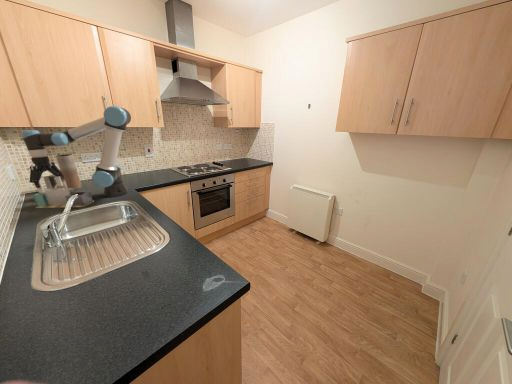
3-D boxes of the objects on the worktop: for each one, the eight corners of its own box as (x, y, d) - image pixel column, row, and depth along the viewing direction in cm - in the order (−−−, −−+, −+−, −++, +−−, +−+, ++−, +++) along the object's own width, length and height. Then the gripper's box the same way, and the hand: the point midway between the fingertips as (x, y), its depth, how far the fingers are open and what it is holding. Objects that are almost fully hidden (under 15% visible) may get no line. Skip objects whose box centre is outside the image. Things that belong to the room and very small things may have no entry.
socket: (56, 201, 138) (52, 190, 135) (45, 206, 130) (40, 194, 127) (48, 201, 137) (44, 190, 135) (36, 206, 129) (32, 195, 127)
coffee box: (56, 198, 144) (49, 177, 139) (49, 198, 146) (42, 176, 140) (70, 194, 153) (63, 174, 148) (63, 194, 154) (56, 173, 149)
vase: (80, 185, 174) (71, 153, 165) (83, 188, 168) (73, 155, 159) (65, 188, 167) (54, 155, 158) (67, 190, 161) (56, 156, 152)
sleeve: (92, 201, 139) (90, 191, 137) (84, 205, 131) (81, 195, 129) (77, 201, 138) (74, 191, 136) (68, 205, 131) (65, 195, 128)
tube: (79, 201, 137) (74, 187, 134) (73, 204, 132) (68, 190, 129) (51, 202, 136) (46, 188, 133) (45, 205, 131) (39, 190, 128)
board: (94, 201, 140) (94, 200, 140) (84, 206, 131) (84, 206, 130) (49, 202, 138) (49, 201, 138) (35, 208, 129) (34, 207, 128)
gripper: (50, 153, 135) (61, 183, 142) (10, 160, 112) (26, 195, 119) (62, 153, 135) (72, 183, 142) (25, 159, 112) (39, 195, 119)
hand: (51, 189), depth 131 cm, fingers open, 13 cm apart
